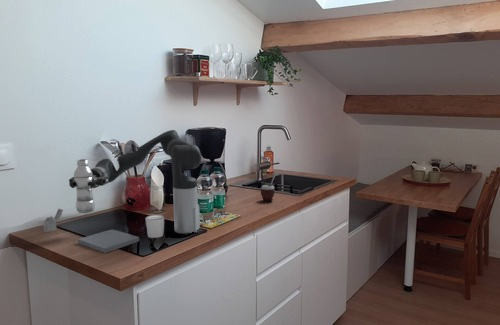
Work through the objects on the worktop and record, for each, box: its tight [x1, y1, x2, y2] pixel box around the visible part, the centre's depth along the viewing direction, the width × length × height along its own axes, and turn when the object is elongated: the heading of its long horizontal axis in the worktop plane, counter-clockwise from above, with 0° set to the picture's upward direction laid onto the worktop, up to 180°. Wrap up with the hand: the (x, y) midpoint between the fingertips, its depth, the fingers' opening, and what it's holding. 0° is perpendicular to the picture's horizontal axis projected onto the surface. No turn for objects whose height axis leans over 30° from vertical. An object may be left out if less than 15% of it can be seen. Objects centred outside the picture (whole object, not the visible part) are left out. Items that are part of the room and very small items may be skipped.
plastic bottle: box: [73, 158, 96, 214], centre depth 151 cm, size 6×7×20 cm
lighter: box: [42, 208, 64, 233], centre depth 158 cm, size 7×2×8 cm, turn 133°
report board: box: [77, 229, 140, 254], centre depth 144 cm, size 16×14×2 cm
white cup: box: [145, 214, 165, 239], centre depth 151 cm, size 7×7×7 cm
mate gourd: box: [260, 171, 280, 203], centre depth 202 cm, size 8×8×15 cm
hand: (81, 185), depth 148 cm, fingers closed on plastic bottle, 6 cm apart
